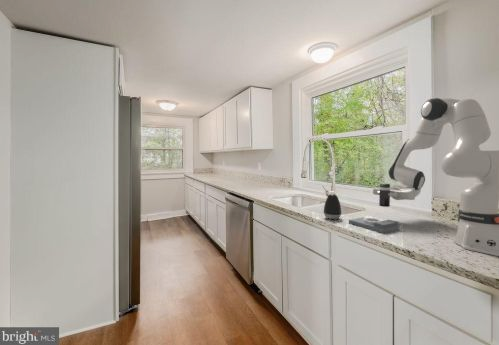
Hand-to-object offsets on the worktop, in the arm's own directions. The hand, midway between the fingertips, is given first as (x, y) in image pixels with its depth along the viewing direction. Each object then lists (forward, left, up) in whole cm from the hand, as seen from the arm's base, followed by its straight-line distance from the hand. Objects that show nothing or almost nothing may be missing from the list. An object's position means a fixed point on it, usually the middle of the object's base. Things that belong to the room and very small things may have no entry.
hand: (383, 194), depth 127 cm
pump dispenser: (+22, +15, -17) cm, 32 cm away
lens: (0, -1, -7) cm, 7 cm away
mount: (0, +9, -17) cm, 19 cm away
